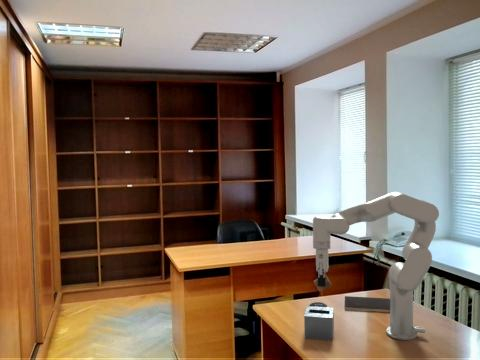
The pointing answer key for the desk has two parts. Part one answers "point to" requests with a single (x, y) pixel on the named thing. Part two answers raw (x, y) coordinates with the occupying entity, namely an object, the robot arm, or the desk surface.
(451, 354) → the desk surface
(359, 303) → the hardcover book
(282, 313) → the desk surface
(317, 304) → the electronic device
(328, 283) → the block
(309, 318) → the slot box
